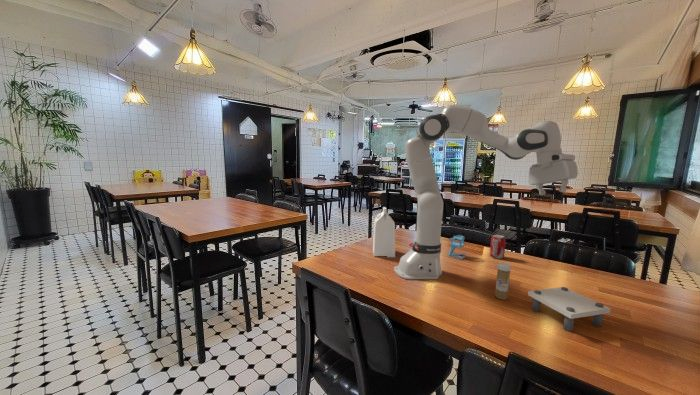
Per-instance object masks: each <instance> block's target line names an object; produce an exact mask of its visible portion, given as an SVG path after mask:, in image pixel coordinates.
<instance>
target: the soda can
mask: <svg viewBox="0 0 700 395" xmlns="http://www.w3.org/2000/svg"><path fill="white" fill-rule="evenodd" d="M489 248H490V249H489V255H490V257H491V258H493V259H496V258H497V259H499V260H500V259H503V258H504V257H505V253H506V252H505V250H506V239H505V236H504V235H501V234H493V235H492V237H491V240H490V247H489Z"/></svg>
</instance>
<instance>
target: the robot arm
mask: <svg viewBox="0 0 700 395" xmlns="http://www.w3.org/2000/svg"><path fill="white" fill-rule="evenodd" d="M447 131H451V132H455V133H458V134H461V135H463V136H466V137H469V138H471V139H474V140H476V141H478V142H480V143H482V144H484V145H486V146H489V147H491V148H493V149H495V150H498V151H499V152H501V153H502V154H503V155H505V157H507V158H508V159H511V160H515V161H516V160H517V161H518V160H521V159H523V158H525V157H526V156H527V155H529V154H531V153H535V154H536V163H535V164H532V165H531V166H530V167H529V171H528V184H529V185H530V186H536V188H537V190H538V192H539V196H541V195H546V194H547V193H546V190H545V189H544V188H543V187H544V185H547V184H551V183H557V182H560V183H561V185H560V187H558V191H559V192H560V193H565V192H566V191H567V186H568V185H569V180H573V179H576V178H577V177H578V174H579V173H578V167H577V166H578V165H577V163H576V161H575V159H576V155H574V154H569V153H568V154H566V153H563V150H562V148H561V143H562V138H561V137H562V136H561V130H560V127H559V125H558V123H557V122H555V121H552V120H545V121H543V120H542V121H540V122H538V123H536V124H534V126H532V127H529V128H527V129H523V130H521V131H519V132H518V133H516V135H514V136H512V137H508V136H504V135H501V134H499V133H498V132H496V131H493V130H491V128H490V127H489V122H488V117H487V116H486V115H485V114H484V113H482V112H481V111H479V110H477V109H473V108H471V107H468V106H463V105H458V104H448V105H446V106H445V107H444V108H443V109H442V111H441V113H436V114H431V115H428V116H425V117H424V118H423V119H422V120H421V122H420V123H419V125H418V129H417V134H416V135H415V136H413V137H411V138H410V139H408V140H407V141H406V142H405V144H404V151H405V153H404V154H405V159H406V164H407V167H408V171H409V176H410V178H411V182H412V185H413V188H414V193H415V196H416V199H417V207H416V208H417V211H416V213H417V214H416V231H415V232H416V233H415V235H416V236H415V241H414V242H412V241H409V242H408V246H409V247H410V248H412V249H410V250H409V251H408V252H406V253H405V254H404V255H401V257H400V259H399V262H398V265H395V266H394V268H393V271H394V273H395V274H396V275H397V276H398V277H400V278H403V279H405V280H438V279H439V278H440V276H442V274H443V269H442V266H441V252H442V243H441V234H442V224H443V214H444V200H443V198H442V195H441V190H440V188H439V187H440V186H439V182H438V177H437V174H436V170H435V165H434V162H433V158H432V154H431V150H430V148H431V145H432V144H433V143H435V142H437V141H439V140H440V139H441V138H442V137H443V135H444V134H445V133H446V132H447Z"/></svg>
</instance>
